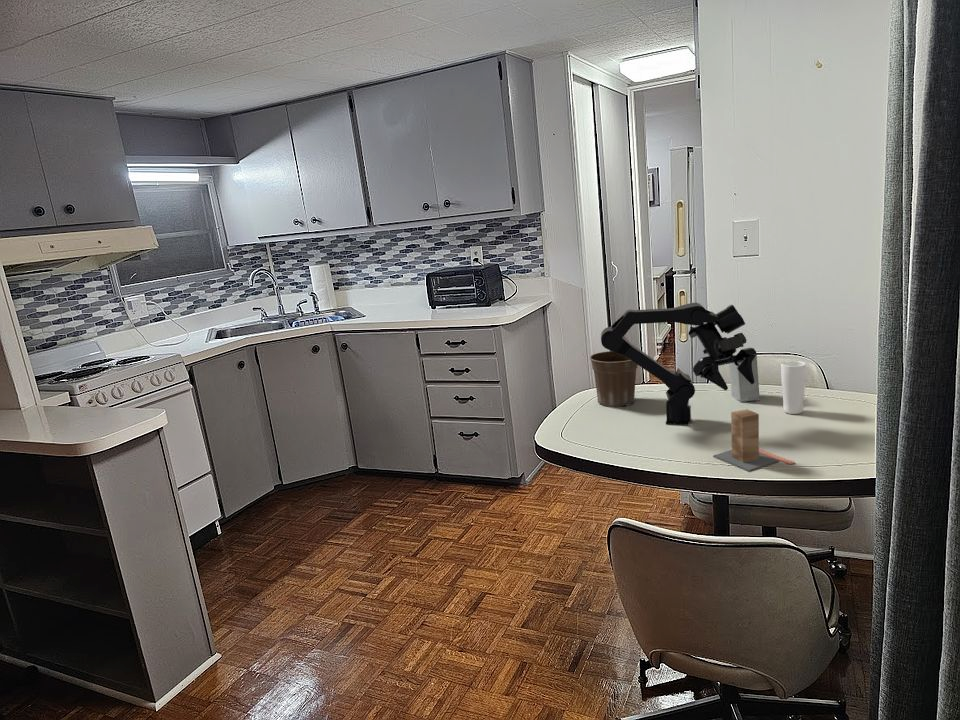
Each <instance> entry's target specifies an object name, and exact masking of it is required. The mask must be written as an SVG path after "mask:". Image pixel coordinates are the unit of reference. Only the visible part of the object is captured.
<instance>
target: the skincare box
mask: <svg viewBox="0 0 960 720" xmlns="http://www.w3.org/2000/svg"><path fill="white" fill-rule="evenodd" d="M741 349H742V348H739V349H738V348H737V349H736V350H737V351H736V352H735V353H733V356H734V355H737V354H738V353H739V351H740V350H741ZM757 356H758V354H757V355H756V357H755V359H754V360H753V361H752V371H753V376H754V381H755V383H754V384H751V383H750V382H749V381H748V380H747V379H746V378H745V377H744V376H743V375H742V374H741V373H740V372H739V370H738V369H737V368H738V366H736V365H735V364H734V363H730V364H728V365H729V374H730V375H729V376H730V389H731V390H730V391H731V396H732V397H733V398H735V399H736V400H737V401H738V402H740V403H741V402H742V403H743V402H750V401H752V402H753V401H760V399H761V398H760V385H759V384H760V383H759V369H758V367H759V366H758V357H757Z"/></svg>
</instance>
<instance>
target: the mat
mask: <svg viewBox="0 0 960 720" xmlns="http://www.w3.org/2000/svg"><path fill="white" fill-rule="evenodd" d="M712 457H713V458H715V459H717V460H720V461H722V462H724V463H727V464H729V465H732V466H734V467H736V468H740V469H741V470H744V471H745V472H746V471H747V472H752V471H755V470H758V469H761V468H765V467H767V466H771V465H773V464H776V463H779V462H780V461H779V460H777V459H774V458H771V457H769V456H766V455H763V454H761V453H759V459H758V460H753V461H748V462H741V461H739V460H737V459H735V458H734V457H732V449H730V450H726V451H723V452H719V453H717V454H714V455H713V456H712Z"/></svg>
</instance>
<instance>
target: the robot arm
mask: <svg viewBox="0 0 960 720" xmlns="http://www.w3.org/2000/svg"><path fill="white" fill-rule="evenodd" d="M662 323H663V324H665V323H677V324H678V323H679V324H683V325H689V326H690V329H689V330H688V332H687V333H688V336H689V338H690V339H693V338H695V337H697V338H698V340H699V341H700V343H701V345H702V347H703V348H704V349H703V351H702V352H703V354H704V355H708V356H704V357H700V358H699V359H698V360H697V362H696V363H695V364H694V365H693V366H692V367H693V368H692V371H693V373H694V375H695V377H699V376H700V378H702V379H706V380H707V381H709V382H711V383H713V384H714V385H716V386H718V387H719V388H721V390H724V391H728V390H729V387H728V385H727V383H726V381H725V379H724V378H723V376H722V374H721V372H720V370H719V367H720V366H725V365H729V364H730V363H734V364H735V365H736V366H738V368H737V369H738V370H739V372H740V373H741V374H742V375H743V376H744V377H745V378H746V379H747V380H748V381H749V382H750V383H751V384H754V383H755V381H754V376H753V371H752V361H753V360H754V359H755V357H756V355H757V356H758V352H757V351H756V349H755V348H754V347H747V348H743V347H745V345H744V344H746V343H747V339H746V338H747V337H746V336H745V334H743V332H738V333H735V334H734V335H733V336H731V337H723V336H722V335H721V333H724V334H727V335H728V334H730V333H733V331H735V330H737V329H739V328H741V327H743V326H745V325H746V322H745V320H744V318H743V317H742V315H741V314H740V313H739V312H738V310H737V309H736V307H735V305H733V304H730V305H728V306H727V307H726V308H724V309H722V310H721V311H719V312H717V313H715V312H713V311H710V310H707V309H706V308H705V307H704V305H702V304H701V303H698V302H690V303H687V304H686V303H685V304H682V305H679V306H675V307H669V308H666V307H665V308H649V309H646V308H645V309H627V310H625V312H624V313H622V315H621V316H620V317H619V318H618V319H617V320H615V322H614V323H612V324H611V326H607V327H605V328H604V329H603V330H602V331H601V334H600V341H601V345H602V347H603V348H604V349H606V350H608V351H612V352H615V353H617V354H621V355H624V356H626V357H627V358H629V359H630V360H632V361H633V362H634V363H636V364H637V366H638V367H640V368H642V369H643V370H645V371H646V372H648V373H649V374H650V375H652V376H653V377H655V378H656V379H658V380H660V381H661V382H662V383H663V384H664V385H665V386H666V387H667V388H668V389H667V390H666V391H665V395H666V397H667V400H666V402H665V411H666V420H665V424H666V425H681V426H688V425H689V424H690V422H691V419H692V408H691V407H692V406H691V405H690V402H689V401H690V399H691V398H693V397H694V395H695V392H696V387H695V385H694V384H693V381H692V378H691V377H690V375H689V374H687V373H685V372H683V371H682V370H681V369H680V368H677V369H676V371H675V370H670V369H669V368H667V367H666V366H664V365H663V364H661V363H660V362H658V360H656V359H654V358H653V357H651V356H650V355H648V354H647V353H646V352H644V351H643V350H641V349H640V348H638V347H636V346H635V345H634V344H632V343H631V342H630V340H629V339H628V338H627V337H626V336H625V335H626V334H627V333H628V331H630V329H631V328H632V327H633V326H634V325H639V324H642V325H643V324H662ZM716 326H717V327H718V328H717V327H716ZM718 329H719V330H720V331H719V330H718ZM720 332H721V333H720ZM738 348H739V349H741V350H740V351H739V353H738V354H737V355H734V356H733V353H735V352H736V351H737V350H738Z"/></svg>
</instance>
